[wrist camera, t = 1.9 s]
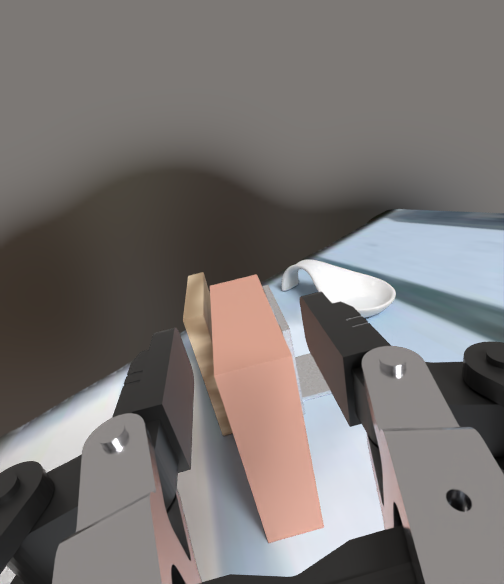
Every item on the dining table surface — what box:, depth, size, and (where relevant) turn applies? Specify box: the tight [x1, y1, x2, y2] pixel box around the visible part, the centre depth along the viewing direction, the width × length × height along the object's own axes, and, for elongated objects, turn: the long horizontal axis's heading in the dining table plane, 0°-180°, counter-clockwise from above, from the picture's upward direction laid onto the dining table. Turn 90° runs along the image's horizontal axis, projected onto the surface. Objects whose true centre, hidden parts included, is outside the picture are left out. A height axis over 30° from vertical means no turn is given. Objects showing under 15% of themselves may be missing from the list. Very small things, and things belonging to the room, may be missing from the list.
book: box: [210, 275, 324, 543], centre depth 29 cm, size 5×14×18 cm, turn 8°
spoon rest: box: [282, 260, 396, 318], centre depth 59 cm, size 24×12×7 cm, turn 38°
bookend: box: [263, 285, 332, 415], centre depth 41 cm, size 6×12×12 cm, turn 8°
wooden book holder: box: [183, 273, 233, 436], centre depth 40 cm, size 10×14×16 cm
